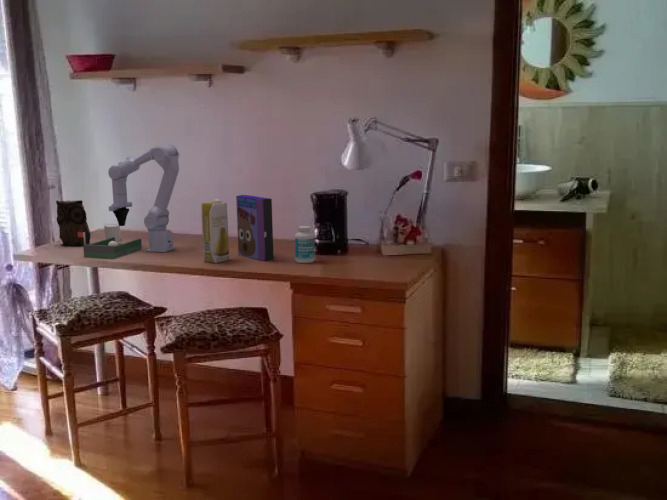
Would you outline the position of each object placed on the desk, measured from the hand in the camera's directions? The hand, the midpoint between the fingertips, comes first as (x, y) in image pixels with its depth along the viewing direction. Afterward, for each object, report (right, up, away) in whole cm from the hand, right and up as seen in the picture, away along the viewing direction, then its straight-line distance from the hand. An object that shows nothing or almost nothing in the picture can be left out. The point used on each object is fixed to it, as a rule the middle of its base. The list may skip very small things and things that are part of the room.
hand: (122, 225), depth 321 cm
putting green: (-2, -11, -9) cm, 15 cm away
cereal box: (+59, -13, -22) cm, 65 cm away
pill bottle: (+79, -15, -32) cm, 87 cm away
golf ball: (0, -9, -13) cm, 15 cm away
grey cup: (-9, -6, +19) cm, 22 cm away
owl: (-22, -8, +12) cm, 26 cm away
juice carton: (+44, -15, -28) cm, 54 cm away
